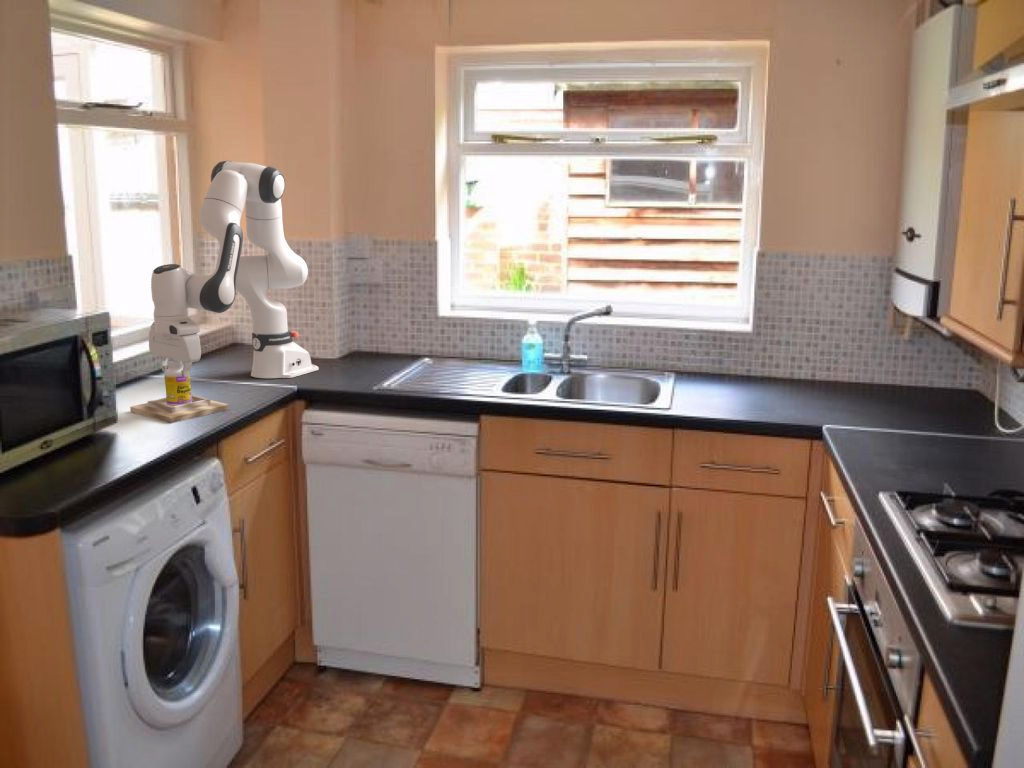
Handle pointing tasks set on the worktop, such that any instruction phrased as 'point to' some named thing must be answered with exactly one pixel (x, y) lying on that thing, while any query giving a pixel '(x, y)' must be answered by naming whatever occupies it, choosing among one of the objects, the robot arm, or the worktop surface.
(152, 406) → the pocket board
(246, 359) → the worktop surface
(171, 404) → the supplement bottle
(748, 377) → the worktop surface
